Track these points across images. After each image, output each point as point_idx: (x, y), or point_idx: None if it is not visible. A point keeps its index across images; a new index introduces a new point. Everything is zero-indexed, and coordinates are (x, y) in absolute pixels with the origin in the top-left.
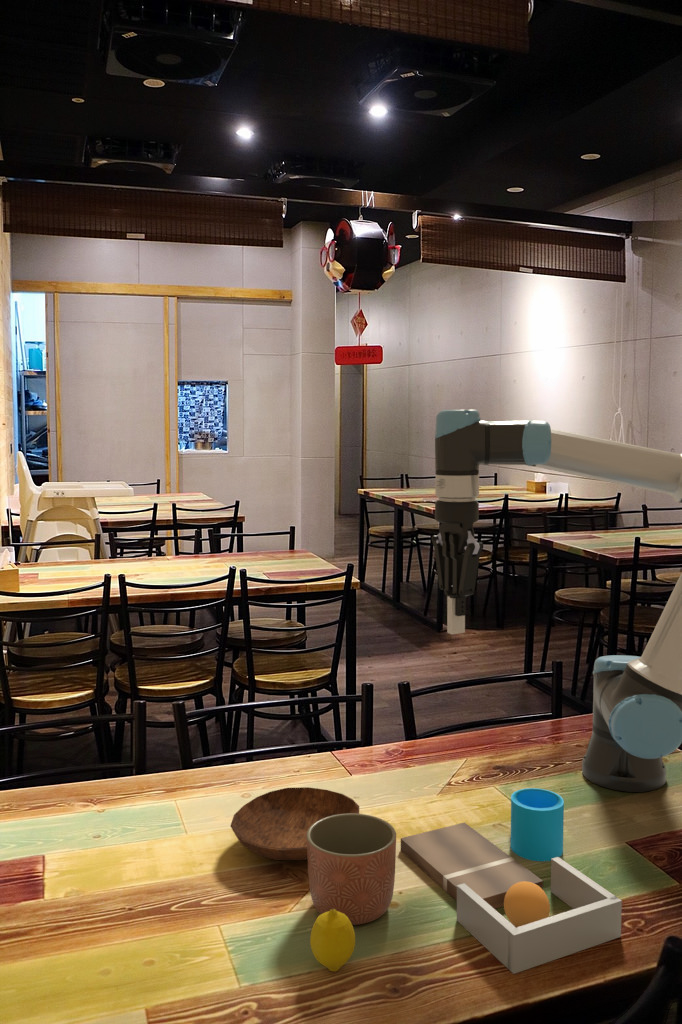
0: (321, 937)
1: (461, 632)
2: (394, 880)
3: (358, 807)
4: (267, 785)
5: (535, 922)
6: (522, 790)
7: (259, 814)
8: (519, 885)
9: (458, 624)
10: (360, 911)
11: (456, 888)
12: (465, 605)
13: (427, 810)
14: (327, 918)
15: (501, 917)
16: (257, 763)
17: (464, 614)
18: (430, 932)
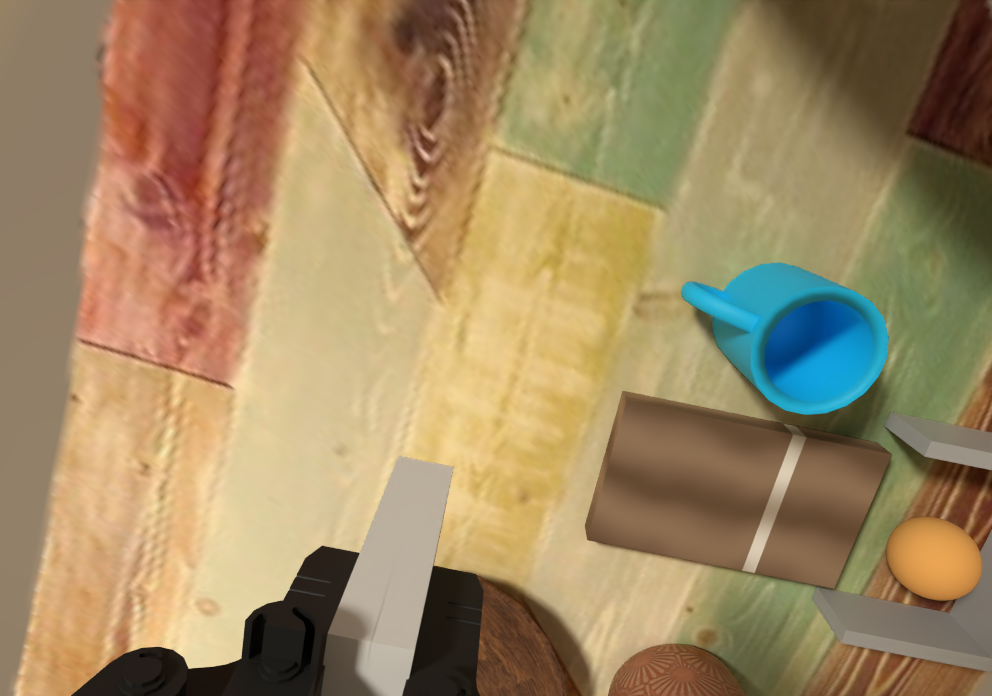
0: None
1: (448, 492)
2: (736, 685)
3: (486, 585)
4: (184, 554)
5: None
6: (760, 342)
7: None
8: (945, 590)
9: (437, 545)
10: None
11: (783, 577)
12: (478, 636)
13: (489, 374)
14: None
15: (957, 655)
16: (59, 511)
17: (477, 586)
18: (801, 643)
